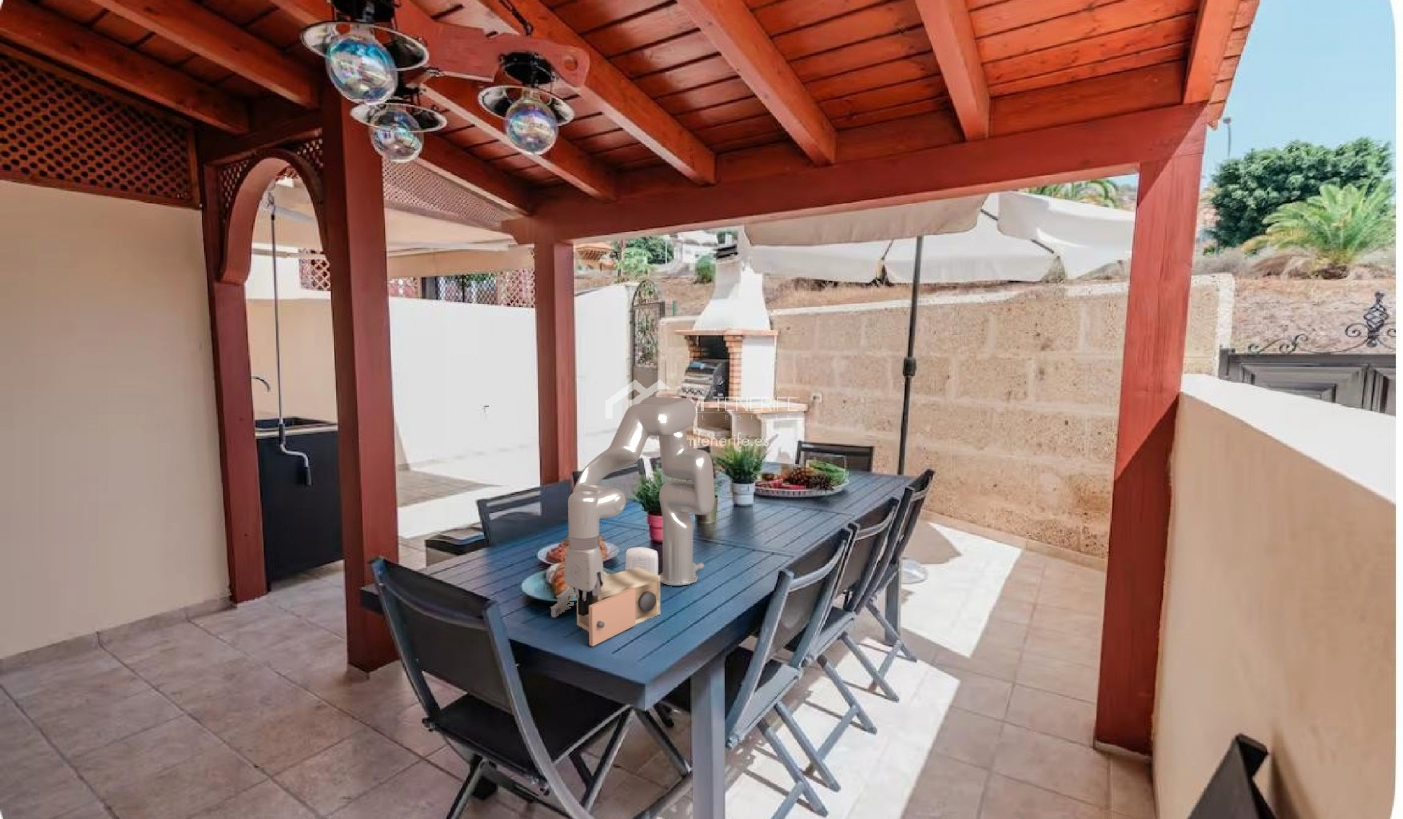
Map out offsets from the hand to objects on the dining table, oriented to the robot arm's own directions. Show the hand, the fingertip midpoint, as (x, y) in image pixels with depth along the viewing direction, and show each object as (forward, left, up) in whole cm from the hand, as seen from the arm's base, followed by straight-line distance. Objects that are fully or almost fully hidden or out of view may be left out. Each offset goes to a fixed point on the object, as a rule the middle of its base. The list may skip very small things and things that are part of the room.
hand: (585, 613), depth 157 cm
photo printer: (-31, -18, -6) cm, 37 cm away
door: (-5, +5, -6) cm, 9 cm away
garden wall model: (-5, -19, -6) cm, 20 cm away
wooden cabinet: (-12, -3, -6) cm, 14 cm away
